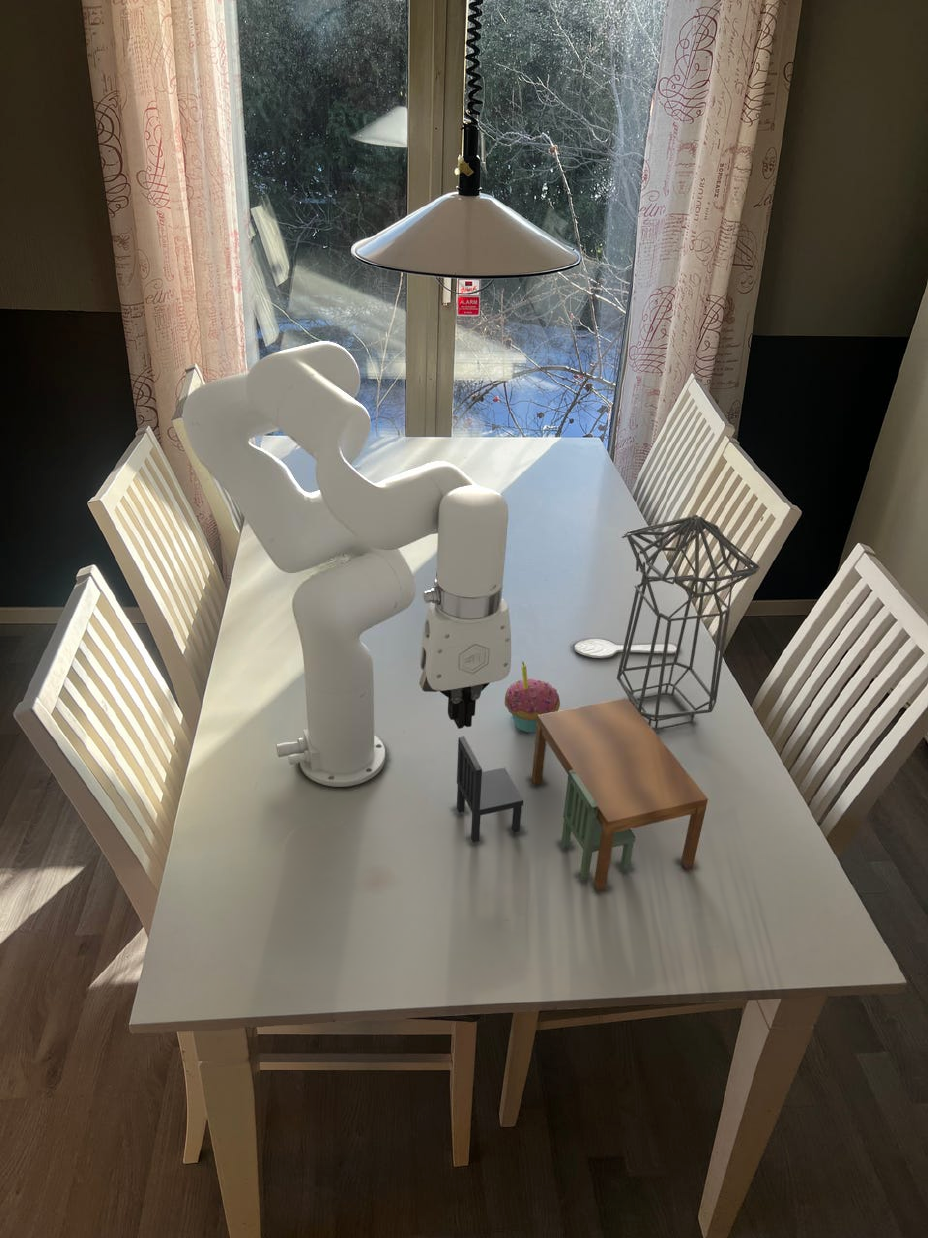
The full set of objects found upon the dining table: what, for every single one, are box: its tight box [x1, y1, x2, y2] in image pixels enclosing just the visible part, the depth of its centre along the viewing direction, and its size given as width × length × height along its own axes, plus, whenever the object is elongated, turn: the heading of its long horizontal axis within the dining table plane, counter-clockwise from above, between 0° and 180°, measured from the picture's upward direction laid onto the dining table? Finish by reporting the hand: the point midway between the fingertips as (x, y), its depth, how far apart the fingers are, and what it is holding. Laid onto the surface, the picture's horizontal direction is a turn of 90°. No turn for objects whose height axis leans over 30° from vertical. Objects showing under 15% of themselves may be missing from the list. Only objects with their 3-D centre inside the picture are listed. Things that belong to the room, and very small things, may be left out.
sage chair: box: [560, 770, 637, 881], centre depth 128 cm, size 7×7×13 cm
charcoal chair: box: [456, 735, 524, 843], centre depth 133 cm, size 7×7×13 cm
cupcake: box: [504, 660, 561, 733], centre depth 152 cm, size 9×8×12 cm
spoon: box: [574, 638, 677, 659], centre depth 173 cm, size 5×18×1 cm, turn 92°
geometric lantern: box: [616, 513, 761, 731], centre depth 149 cm, size 16×16×35 cm
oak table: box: [531, 697, 709, 892], centre depth 134 cm, size 14×22×12 cm, turn 19°
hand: (460, 720), depth 122 cm, fingers closed
